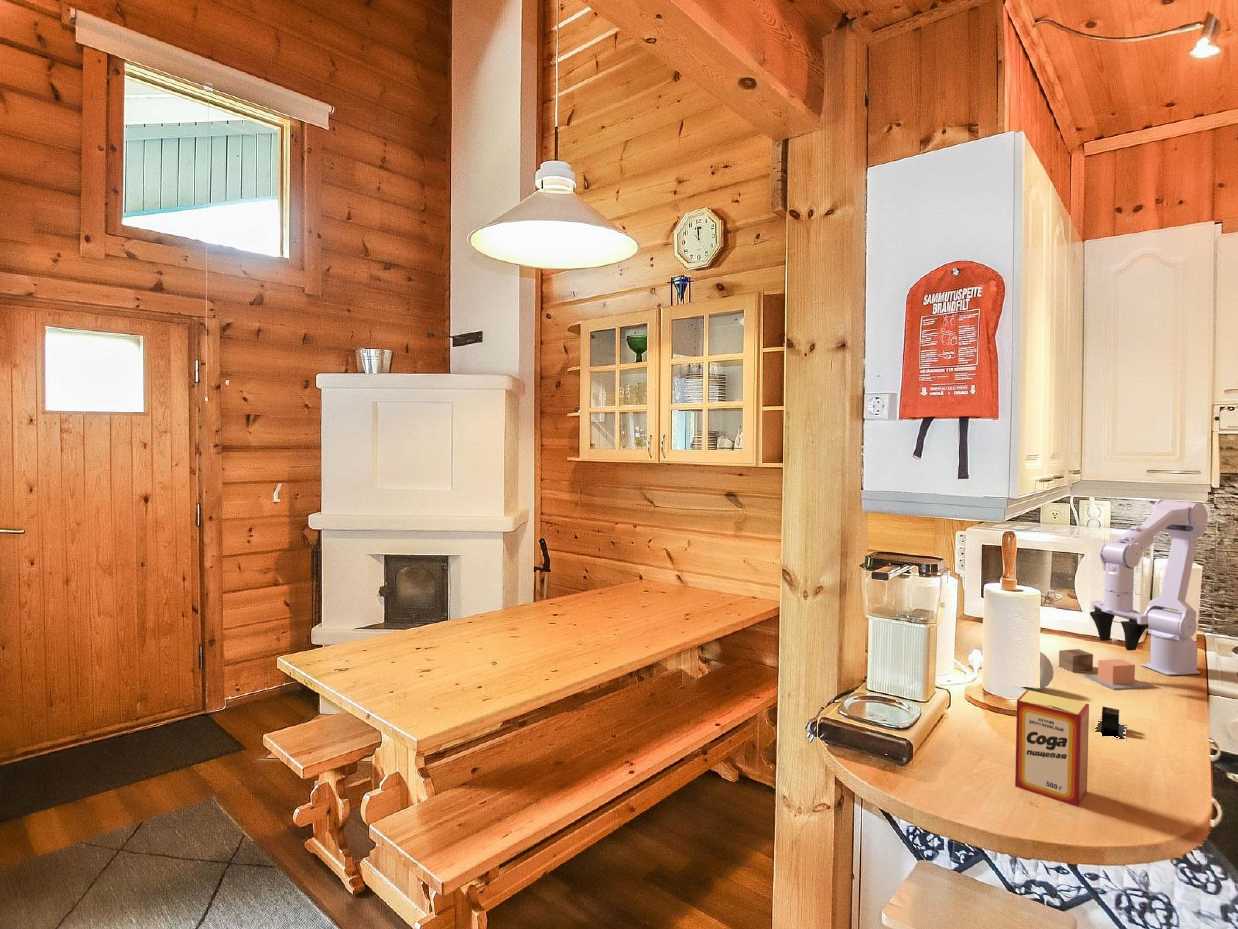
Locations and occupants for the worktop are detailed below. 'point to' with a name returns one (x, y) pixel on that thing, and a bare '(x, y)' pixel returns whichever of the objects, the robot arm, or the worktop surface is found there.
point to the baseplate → (1118, 686)
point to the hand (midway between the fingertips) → (1117, 645)
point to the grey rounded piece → (1045, 671)
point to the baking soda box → (1052, 746)
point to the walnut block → (1075, 660)
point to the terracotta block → (1116, 671)
